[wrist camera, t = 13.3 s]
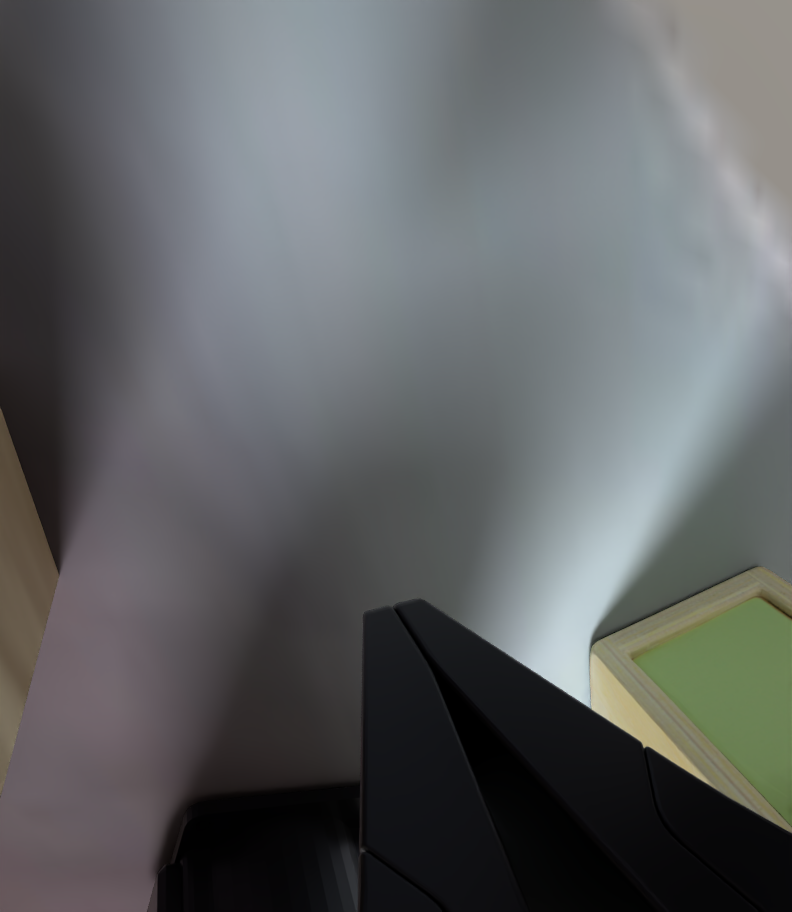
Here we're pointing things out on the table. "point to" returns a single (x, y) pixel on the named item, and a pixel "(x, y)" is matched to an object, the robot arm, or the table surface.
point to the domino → (19, 593)
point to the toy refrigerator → (711, 688)
